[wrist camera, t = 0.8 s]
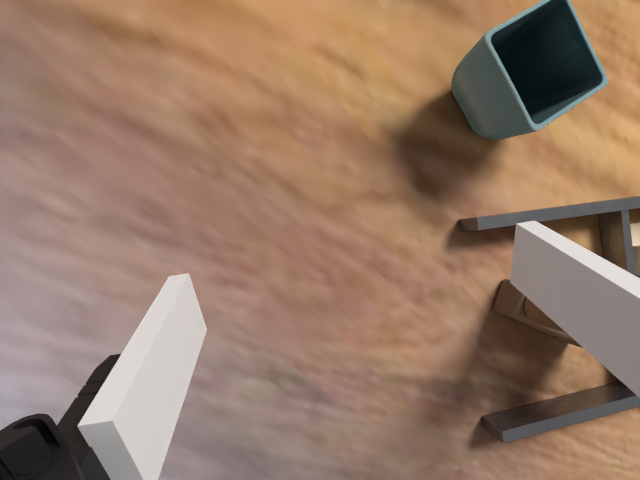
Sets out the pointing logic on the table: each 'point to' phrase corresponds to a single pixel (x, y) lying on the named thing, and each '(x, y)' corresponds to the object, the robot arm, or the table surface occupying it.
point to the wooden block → (527, 312)
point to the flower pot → (527, 72)
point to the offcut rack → (591, 400)
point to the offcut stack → (636, 245)
